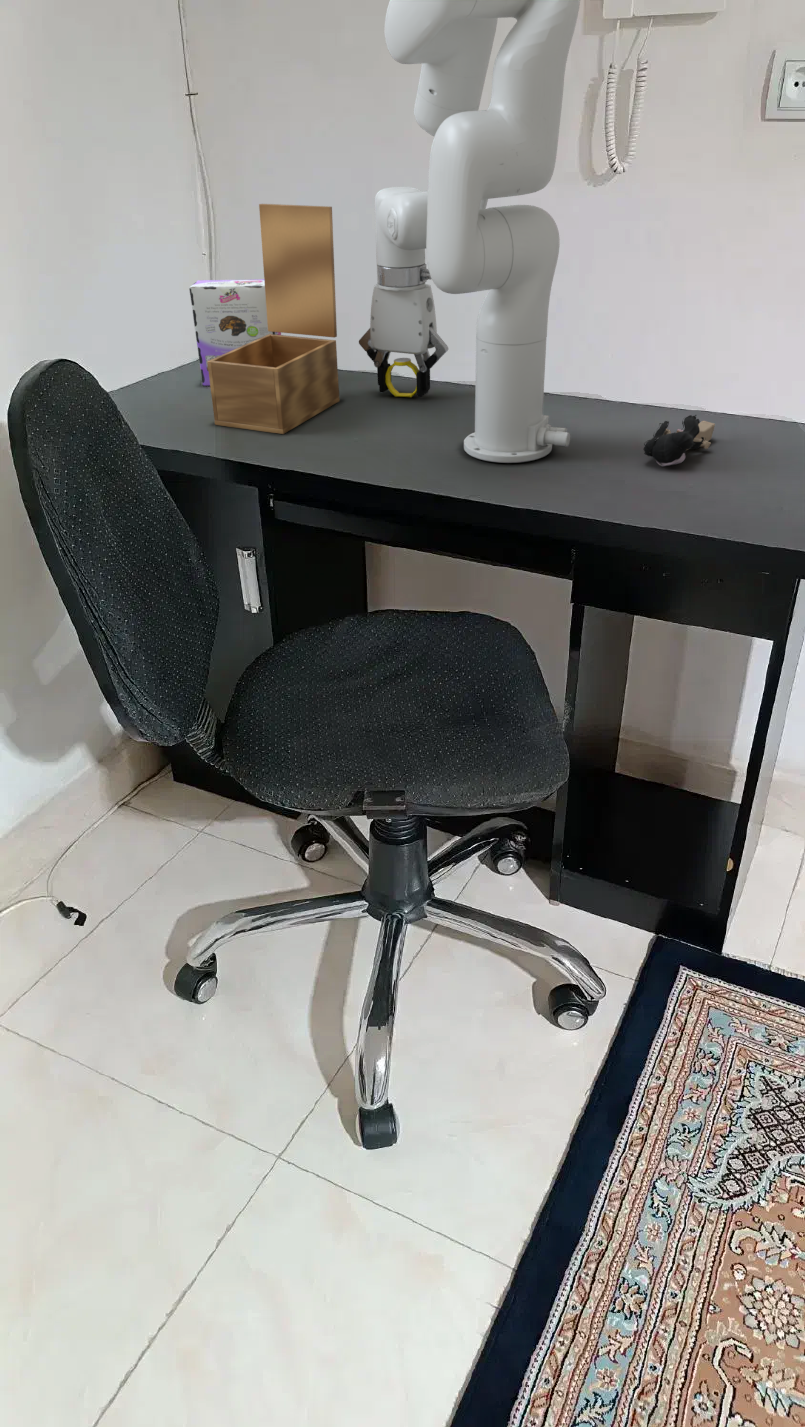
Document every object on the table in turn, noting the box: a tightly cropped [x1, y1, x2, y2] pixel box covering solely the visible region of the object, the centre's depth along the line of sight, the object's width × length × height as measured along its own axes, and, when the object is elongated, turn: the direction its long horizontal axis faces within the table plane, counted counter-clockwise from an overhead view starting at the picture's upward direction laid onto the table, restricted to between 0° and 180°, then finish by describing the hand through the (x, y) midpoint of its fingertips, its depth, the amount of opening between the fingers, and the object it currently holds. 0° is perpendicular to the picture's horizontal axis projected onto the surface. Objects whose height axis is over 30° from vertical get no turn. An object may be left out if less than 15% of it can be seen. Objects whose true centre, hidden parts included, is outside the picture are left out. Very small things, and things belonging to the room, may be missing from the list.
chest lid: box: [258, 203, 338, 339], centre depth 164 cm, size 19×12×5 cm
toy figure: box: [643, 414, 716, 468], centre depth 145 cm, size 7×6×15 cm
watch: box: [385, 357, 419, 398], centre depth 171 cm, size 6×3×6 cm, turn 66°
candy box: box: [188, 278, 282, 387], centre depth 177 cm, size 14×6×16 cm, turn 84°
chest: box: [207, 334, 340, 435], centre depth 164 cm, size 18×12×10 cm
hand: (403, 391), depth 172 cm, fingers closed on watch, 6 cm apart
